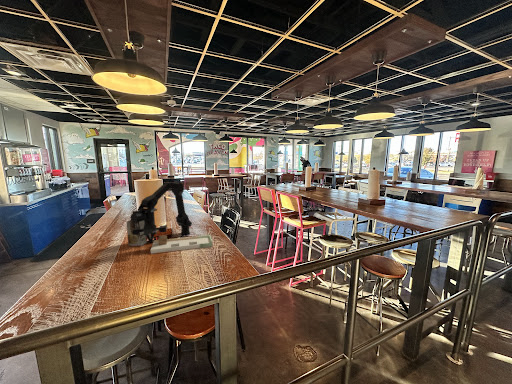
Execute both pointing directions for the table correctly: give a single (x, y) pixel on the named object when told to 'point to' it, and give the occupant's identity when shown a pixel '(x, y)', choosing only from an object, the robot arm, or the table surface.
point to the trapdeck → (182, 244)
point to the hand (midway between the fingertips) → (151, 243)
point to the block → (162, 240)
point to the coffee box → (135, 239)
